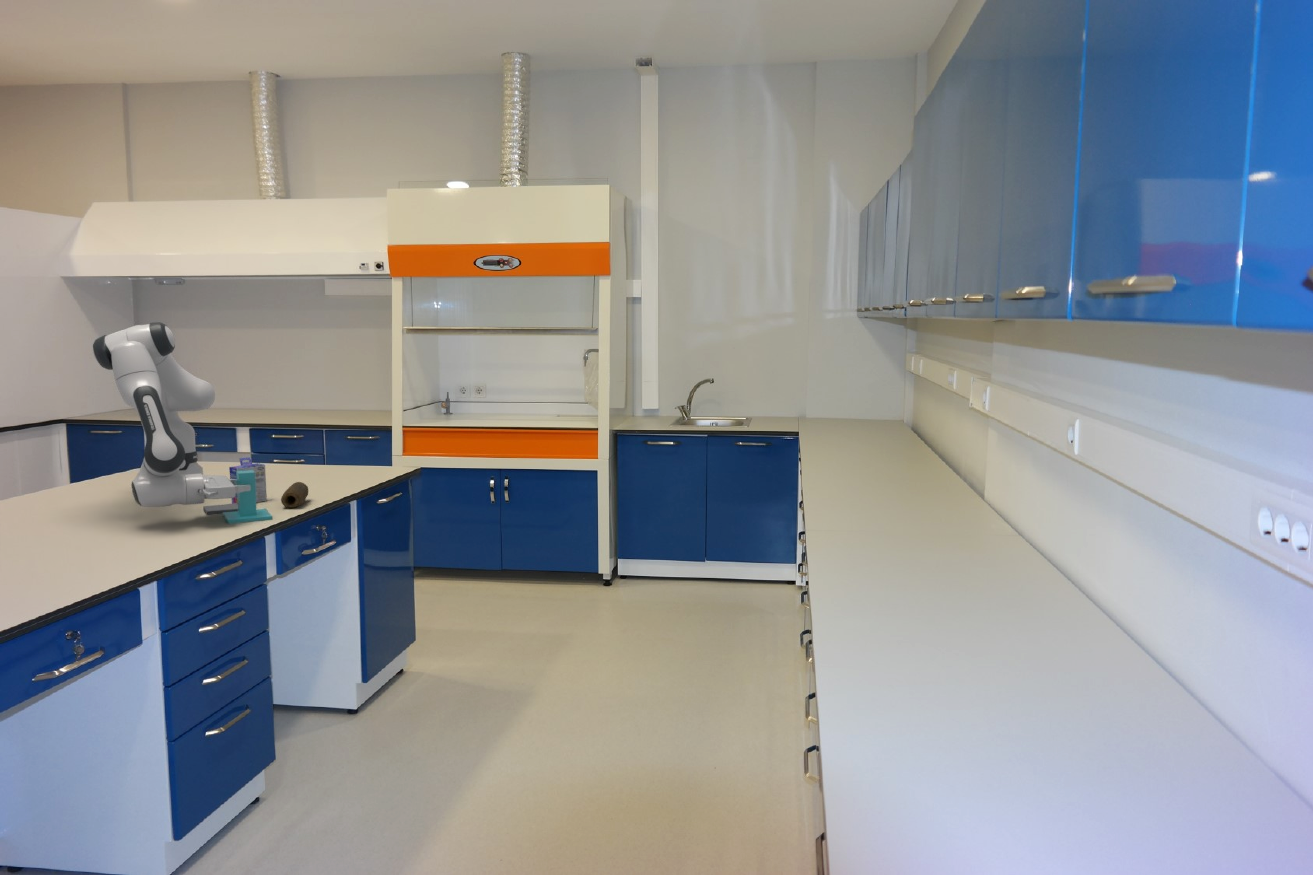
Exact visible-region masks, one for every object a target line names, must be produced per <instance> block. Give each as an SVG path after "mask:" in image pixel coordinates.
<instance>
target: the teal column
mask: <svg viewBox="0 0 1313 875" xmlns="http://www.w3.org/2000/svg"><path fill="white" fill-rule="evenodd" d="M236 477H237V485H238V486H239V485H247V484H249V485H250V486H251V490H250V491H244V492H241V493H237V501H238V514H239V515H240V517H241V516H252V515H257V511H256V510H257V502H256V486H255V472H254V471H253V470H248V471H236Z"/></svg>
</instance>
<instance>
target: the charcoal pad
mask: <svg viewBox="0 0 1313 875" xmlns="http://www.w3.org/2000/svg"><path fill="white" fill-rule="evenodd" d="M203 511H204V512H205V515H207V516H208V515H221V514H222V515H223V512H235V511H238V503H235V504H233V503H225V504H213V505H203Z"/></svg>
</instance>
